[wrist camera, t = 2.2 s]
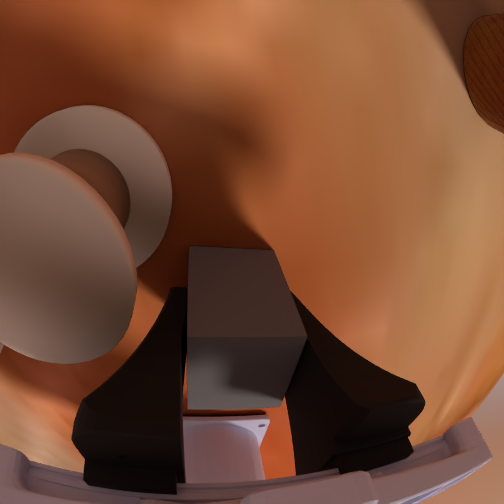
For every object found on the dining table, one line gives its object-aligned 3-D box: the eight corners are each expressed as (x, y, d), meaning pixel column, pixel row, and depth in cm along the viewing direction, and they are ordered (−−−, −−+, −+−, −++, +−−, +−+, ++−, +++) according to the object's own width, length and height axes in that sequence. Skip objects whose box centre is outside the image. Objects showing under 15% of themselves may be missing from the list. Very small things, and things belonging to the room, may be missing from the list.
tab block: (259, 320, 15) (279, 406, 11) (186, 319, 15) (187, 409, 10) (274, 250, 13) (307, 335, 9) (189, 246, 13) (187, 336, 8)
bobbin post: (170, 275, 13) (162, 384, 9) (27, 266, 12) (-25, 355, 7) (179, 104, 10) (157, 130, 5) (8, 112, 8) (-91, 153, 4)
